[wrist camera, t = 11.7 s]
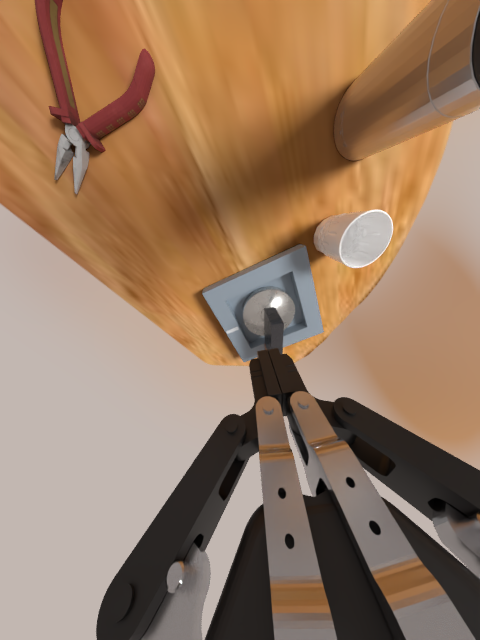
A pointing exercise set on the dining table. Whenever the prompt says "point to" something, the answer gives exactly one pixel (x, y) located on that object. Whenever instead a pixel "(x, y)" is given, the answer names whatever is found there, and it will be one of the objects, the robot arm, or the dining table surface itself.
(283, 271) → the housing
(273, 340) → the dial
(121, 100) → the pliers
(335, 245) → the white cup
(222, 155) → the dining table surface
